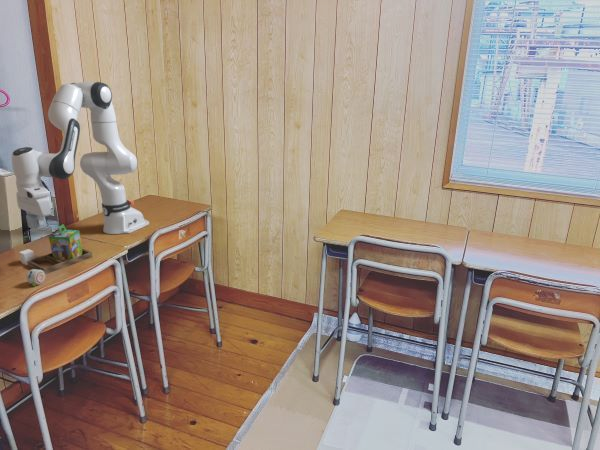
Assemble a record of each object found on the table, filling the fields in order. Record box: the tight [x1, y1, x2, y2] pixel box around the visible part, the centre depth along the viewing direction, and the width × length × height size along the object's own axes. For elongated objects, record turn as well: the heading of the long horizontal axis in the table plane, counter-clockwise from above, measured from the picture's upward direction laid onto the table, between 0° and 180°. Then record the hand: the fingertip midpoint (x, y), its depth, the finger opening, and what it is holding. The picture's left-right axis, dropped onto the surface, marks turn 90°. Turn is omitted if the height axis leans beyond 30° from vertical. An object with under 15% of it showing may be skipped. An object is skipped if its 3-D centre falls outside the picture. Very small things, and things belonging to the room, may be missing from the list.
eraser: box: [18, 248, 36, 266], centre depth 210 cm, size 4×4×5 cm
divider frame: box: [27, 248, 93, 275], centre depth 211 cm, size 21×14×2 cm, turn 144°
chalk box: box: [48, 224, 84, 262], centre depth 211 cm, size 9×9×15 cm
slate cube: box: [25, 214, 48, 230], centre depth 199 cm, size 5×5×5 cm
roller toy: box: [26, 268, 46, 287], centre depth 191 cm, size 4×6×6 cm
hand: (36, 222), depth 200 cm, fingers closed on slate cube, 5 cm apart
